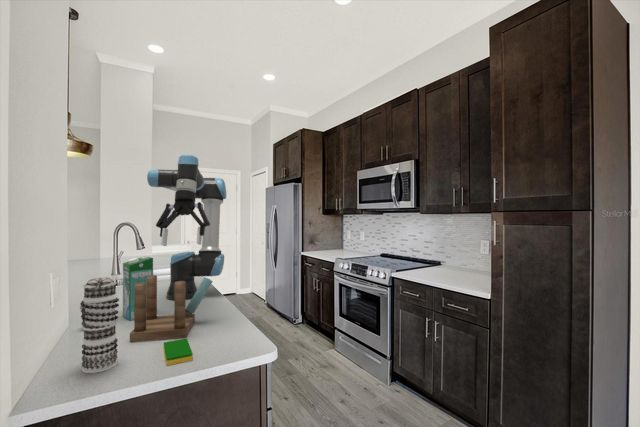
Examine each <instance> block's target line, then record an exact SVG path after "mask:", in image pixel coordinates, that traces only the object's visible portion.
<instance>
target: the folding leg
mask: <svg viewBox="0 0 640 427" xmlns="http://www.w3.org/2000/svg"><path fill="white" fill-rule="evenodd" d="M212 283H213V280H212V279H210V278H208V277H203V279H202V281H201V283H200V284H199V286H198V288H197V291H196V293H195V294H194V296H193V298H191V299H190V301H189V302H188V304H187V306H186V307H185V309H186V310H187V311H188V312H190V313H192V314H195V312H196V310H197V309H198V307H199V305H200V304H201V302H202V300H203V299H204V297H205V295H206V293H207V292H208V290H209V288H210V287H211V285H212Z"/></svg>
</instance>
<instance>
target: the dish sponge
mask: <svg viewBox="0 0 640 427" xmlns="http://www.w3.org/2000/svg"><path fill="white" fill-rule="evenodd" d="M163 354H164V359H165V365H166V366H171V365H176V364H181V363H185V362H191V361H193V360H194V359H193V357H194V356H193V351H192V349H191V345H190V343H189V341H188V338H179V339H177V340H176V339H173V340H169V341H165V342H163Z"/></svg>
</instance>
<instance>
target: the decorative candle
mask: <svg viewBox="0 0 640 427" xmlns="http://www.w3.org/2000/svg"><path fill="white" fill-rule="evenodd" d="M117 284H118V282H116V281H114V279H113V278H111V277H97V278H96V277H95V278H92V279H89V280H88V281H87V282H86V284H84V285H82V287H83V288H84V292H83V293H84V294H83V295H84V296H83V299H82V301H81V302H80V303H79V304H80V305H79V306H82V307H83V308H82V309H80V313H81V316H80V317H81V320H82V319H83V320H82V322H81V325H82V326H81V329H82V330H83V337H82V338H83V340H82V341H83V342H82V345H81V348H82V350H81V353H82V357H81V361H82V362H81V367H82V368H81V371H82V372H83V373H85V374H96V373H102V372H104V371H107V370H110V369H112V368H114V367H115V366H116V365H117V364H118V360H117V359H118V352H119V351H118V343H117V342H118V338H117V331H116V329H117V328H116V325H117V324H118V320H117V319H118V318H119V316H118V314H119V311H118V310H117V309H116V308H118V307H120V303H117V302H119V301H120V298H118V297H117V290H116V289H117V287H116V286H117Z"/></svg>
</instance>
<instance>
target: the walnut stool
mask: <svg viewBox="0 0 640 427" xmlns="http://www.w3.org/2000/svg"><path fill="white" fill-rule="evenodd" d="M185 283H186V281H176V282H175V300H174V309H173V310H174V313H173V314H167V315H158V310H157V309H158V276H157V275H154V274H153V275H152V276H147V295H146V283H145V282H140V283H135V300H134V320H133V322H134V327H133V328H134V329H132V330H131V332H129V343H134V342H135V343H137V342H149V341H163V340H176V339H177V340H179V339H187V337H188V335H189V333H190V331H191V329H192V327H193V325H194V323H195V322H196V321H195V320H196V317H195V313H190V312H188V311H187V310H186V299H185Z"/></svg>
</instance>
